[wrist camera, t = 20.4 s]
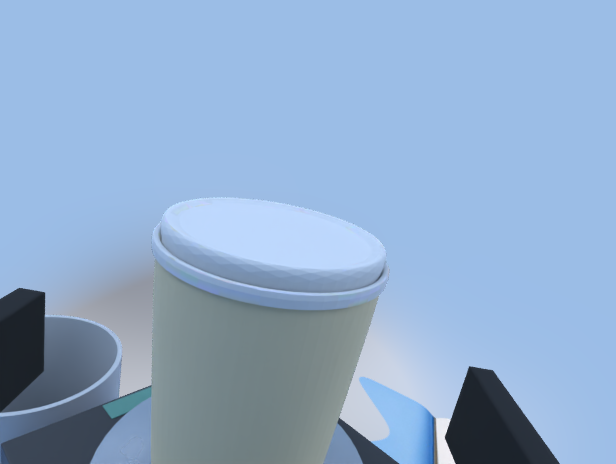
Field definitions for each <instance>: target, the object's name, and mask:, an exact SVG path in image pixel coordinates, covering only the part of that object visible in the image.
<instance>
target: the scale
mask: <svg viewBox="0 0 616 464" xmlns="http://www.w3.org/2000/svg"><path fill="white" fill-rule="evenodd" d="M151 394H152V385H151V386H148V387H146V388H143V389H141V390H138V391H135V392H133V393H130V394H127V395H125V396H122V397H120V398H117V399H114V400H112V401H109V402H107V403H104V404H102V405H99V406H96V407H94V408H91V409H89V410H86V411H83V412H81V413H78V414H76V415H73V416H70V417H68V418H65V419H63V420H60V421H58V422H55V423H52V424H50V425H47V426H45V427H42V428H39V429H37V430H34V431H32V432H29V433H26V434H24V435H21V436H19V437H16V438H14V439H11V440H8V441H6V442H3V443H1V464H90V462H91V460H92V458H93V456H94V454H95V452H96V450H97V448H98V447H99V445H100V443H101V442H102V440H103V439H104V437H105V436H106V434H107V433H108V432H109V431H110V430H111V429H112V427H113V426H114V425H115V424H116V423H117V422H118V421H119V420H120V419H121V418H122V417H123V416H124V415H125V414H127V413H128V412H129V411H130V410H132V409H133V408H134V407H136V406H137V405H138V404H140V403H141V402H143V401H145V400H146V399H148V398H150V397H151ZM337 423H338V424H339V425H340V426H341V427H342V428H343V430H344V431H345V432H346V434H347V435H348V436H349V438H350V439H351V441H352V443H353V444H354V446H355V448H356V449H357V451H358V453H359V456H360V458H361V460H362V463H363V464H399V463H398V462H396V461H395V460H394V459H392V458H391V457H390V456H388V455H387V454H386V453H385V452H383V451H382V450H381V449H379V448H378V447H377V446H375V445H374V444H373V443H371V442H370V441H369V440H368V439H366V438H365V437H363V436H362V435H361V434H360V433H358V432H357V431H356V430H354V429H353V428H352V427H351V426H349V425H348V424H346V423H345V422H344V421H343V420H341V419H340V418H339V419H338V422H337Z"/></svg>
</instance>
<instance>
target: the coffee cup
mask: <svg viewBox="0 0 616 464" xmlns="http://www.w3.org/2000/svg"><path fill="white" fill-rule="evenodd" d="M152 252H153V255H154V257H155V270H154V289H153V335H152V339H153V340H152V394H151V464H323V463H324V460H325V457H326V454H327V451H328V448H329V445H330V442H331V439H332V437H333V434H334V431H335V428H336V425H337V422H338V419H339V416H340V413H341V410H342V407H343V404H344V401H345V399H346V396H347V393H348V390H349V386H350V383H351V381H352V378H353V374H354V372H355V368H356V366H357V362H358V360H359V357H360V354H361V351H362V347H363V344H364V342H365V338H366V336H367V333H368V330H369V326H370V324H371V320H372V317H373V314H374V310H375V307H376V304H377V300H378V297H379V295H380V294H381V293H382V292H383V291H384V289H385V287H386V284H387V281H388V278H389V266H388V264H387V262H386V251H385V248H384V246H383V245H382V243H381V242H380V241H379V240H378V239H377V238H376V237H374V236H373V235H372V234H370V233H369V232H367V231H365V230H364V229H361V228H360V227H358V226H356V225H354V224H351V223H349V222H347V221H344V220H342V219H339V218H336V217H333V216H330V215H327V214H324V213H321V212H317V211H314V210H310V209H306V208H302V207H297V206H293V205H288V204H283V203H276V202H271V201H263V200H254V199H243V198H202V199H194V200H188V201H183V202H180V203H177V204H175V205H173V206H171V207H169V208H168V209H167V210H166V211H165V212H164V215H163V216H162V219H161V222H160V223H159V224H158V225H157V226H156V227H155V229H154V230H153V234H152Z"/></svg>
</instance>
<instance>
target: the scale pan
mask: <svg viewBox="0 0 616 464" xmlns="http://www.w3.org/2000/svg"><path fill="white" fill-rule="evenodd" d="M90 464H151V397H150V398H148V399H146V400H145V401H143V402H141V403H140V404H138V405H137V406H136V407H134V408H133V409H132V410H130V411H129V412H128V413H127V414H125V415H124V416H123V417H122V418H121V419H120V420H119V421H118V422H117V423H116V424H115V425H114V426H113V427H112V429H111V430H110V431H109V432H108V433H107V434H106V436H105V437H104V439H103V440H102V442H101V443H100V445H99V447H98V448H97V450H96V452H95V454H94V456H93V458H92V460H91V462H90ZM323 464H363V463H362V460H361V458H360V456H359V453H358V451H357V449H356V448H355V446H354V444H353V443H352V441H351V439H350V438H349V436H348V435H347V434H346V432H345V431H344V430H343V428H342V427H341V426H340V425H339V424H338V423H337V425H336V428H335V431H334V434H333V437H332V439H331V442H330V445H329V448H328V451H327V454H326V457H325V460H324V463H323Z"/></svg>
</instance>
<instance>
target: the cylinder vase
mask: <svg viewBox="0 0 616 464" xmlns="http://www.w3.org/2000/svg"><path fill="white" fill-rule="evenodd" d="M121 361H122V346H121V342H120V340H119V338H118V337H117V336H116V334H114V333H113V332H112V331H111V330H110V329H108V328H107V327H105V326H103V325H101V324H99V323H97V322H94V321H91V320H87V319H83V318H78V317H71V316H62V315H45V337H44V372H43V373H42V374H40V375H39V376H38V377H37V378H36V379H35V380H34V381H33V382H32V383H31V384H30V385H29V386H28V387H27V388H26V389H25V390H24V391H23V392H22V393H21V394H19V395H18V396H17V397H16V398H15V399H14V400H13V401H12V402H11V403H10V404H9V405H8V406H7V407H6V408H5V409H4V410H3V411H2V412H1V413H0V464H1V443H3V442H6V441H8V440H11V439H14V438H16V437H19V436H21V435H24V434H26V433H29V432H32V431H34V430H37V429H39V428H42V427H45V426H47V425H50V424H52V423H55V422H58V421H60V420H63V419H65V418H68V417H70V416H73V415H76V414H78V413H81V412H83V411H86V410H89V409H91V408H94V407H96V406H99V405H102V404H104V403H107V402H109V401H112V400H114V399H117V398H119V387H120V373H121Z"/></svg>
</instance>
